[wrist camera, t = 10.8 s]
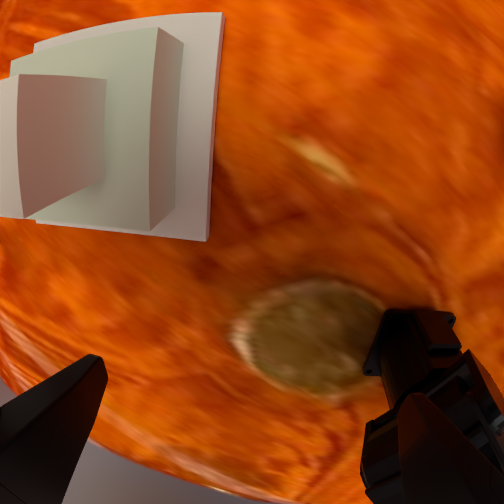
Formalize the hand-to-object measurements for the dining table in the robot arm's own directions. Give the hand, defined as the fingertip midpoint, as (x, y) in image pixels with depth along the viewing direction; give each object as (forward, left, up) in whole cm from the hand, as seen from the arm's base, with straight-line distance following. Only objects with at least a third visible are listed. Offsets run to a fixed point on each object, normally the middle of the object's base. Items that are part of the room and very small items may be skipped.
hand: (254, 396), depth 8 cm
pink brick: (+6, +11, -8) cm, 15 cm away
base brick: (+6, +11, -12) cm, 17 cm away
